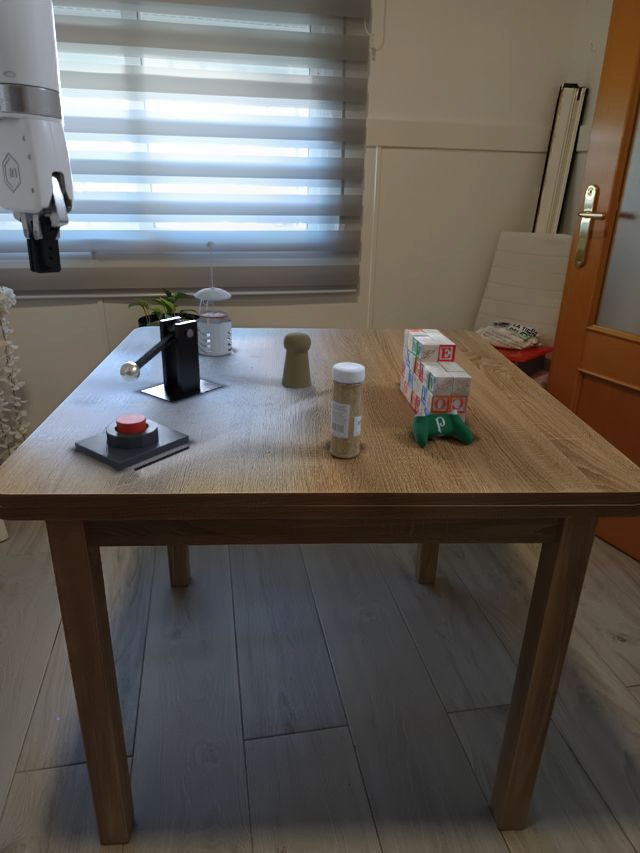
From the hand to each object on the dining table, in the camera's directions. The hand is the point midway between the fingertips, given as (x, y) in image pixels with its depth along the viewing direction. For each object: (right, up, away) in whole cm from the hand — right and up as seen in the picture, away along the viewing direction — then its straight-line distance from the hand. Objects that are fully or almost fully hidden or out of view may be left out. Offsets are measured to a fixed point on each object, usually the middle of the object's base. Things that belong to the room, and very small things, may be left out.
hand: (46, 271), depth 73 cm
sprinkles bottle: (+38, -24, +12) cm, 47 cm away
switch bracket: (+9, -14, +34) cm, 37 cm away
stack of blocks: (+55, -17, +31) cm, 65 cm away
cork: (+30, -13, +39) cm, 51 cm away
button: (+8, -20, +9) cm, 23 cm away
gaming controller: (+54, -22, +18) cm, 61 cm away
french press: (+10, -3, +59) cm, 60 cm away
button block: (+8, -24, +10) cm, 27 cm away
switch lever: (+7, -8, +27) cm, 29 cm away
